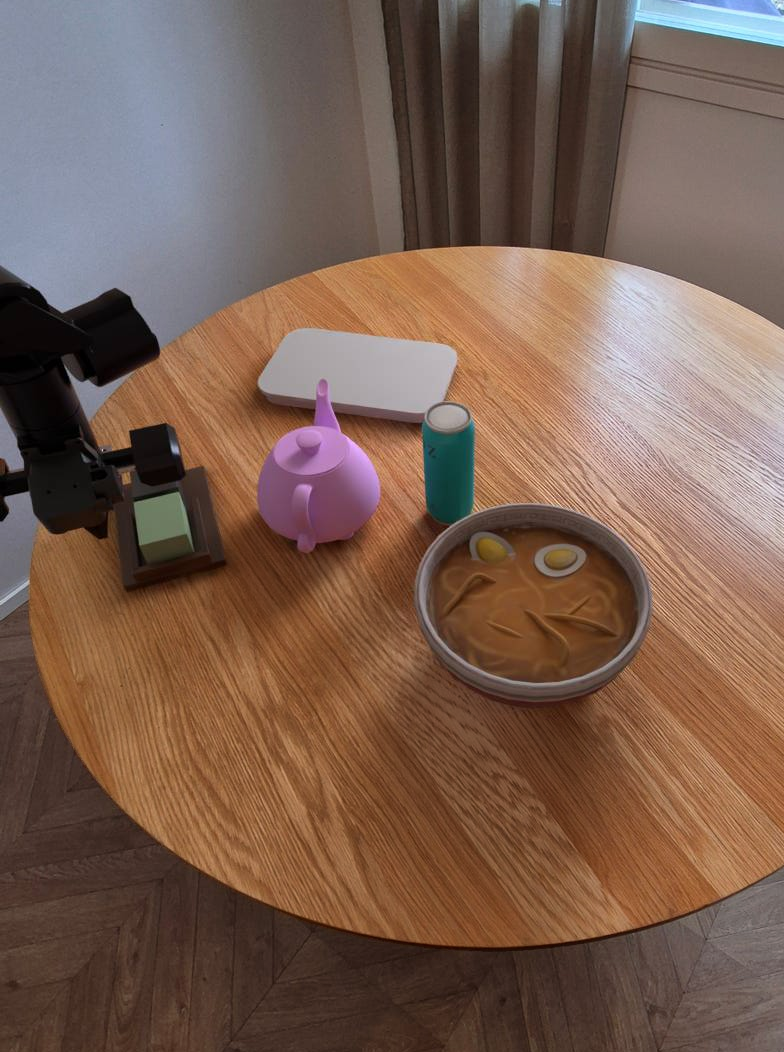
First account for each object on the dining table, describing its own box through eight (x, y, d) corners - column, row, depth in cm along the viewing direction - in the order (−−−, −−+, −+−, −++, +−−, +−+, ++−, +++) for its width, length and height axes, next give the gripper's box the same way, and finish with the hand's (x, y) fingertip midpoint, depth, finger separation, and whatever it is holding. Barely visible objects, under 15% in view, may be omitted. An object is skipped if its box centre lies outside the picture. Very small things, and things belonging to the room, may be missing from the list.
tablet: (294, 338, 120) (291, 325, 118) (461, 359, 117) (461, 346, 115) (253, 404, 109) (250, 391, 107) (437, 429, 106) (436, 416, 104)
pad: (150, 569, 88) (139, 545, 85) (144, 526, 92) (133, 502, 89) (196, 557, 89) (186, 533, 86) (187, 515, 93) (178, 491, 90)
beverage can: (461, 490, 98) (461, 393, 87) (481, 520, 95) (483, 424, 84) (418, 504, 96) (412, 407, 85) (438, 536, 93) (434, 439, 82)
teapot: (283, 451, 103) (265, 375, 94) (391, 455, 102) (384, 378, 93) (247, 570, 89) (223, 494, 80) (372, 574, 89) (362, 498, 80)
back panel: (126, 592, 87) (110, 563, 83) (114, 492, 97) (100, 462, 93) (227, 565, 90) (216, 535, 86) (205, 471, 100) (195, 441, 96)
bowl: (498, 533, 93) (501, 471, 86) (674, 625, 85) (694, 565, 77) (372, 666, 81) (363, 607, 73) (564, 791, 72) (575, 738, 65)
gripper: (-90, 500, 58) (-2, 625, 70) (170, 443, 64) (213, 568, 75) (-79, 411, 65) (-1, 539, 77) (154, 366, 71) (196, 492, 82)
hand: (103, 536), depth 77 cm, fingers closed
